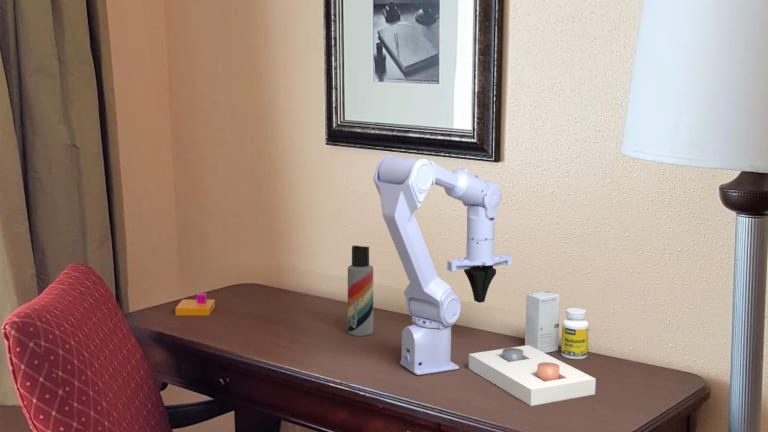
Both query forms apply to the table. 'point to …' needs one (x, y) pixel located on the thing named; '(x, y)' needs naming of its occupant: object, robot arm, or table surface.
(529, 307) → the skincare box
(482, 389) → the table surface
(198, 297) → the yellow slab with magenta
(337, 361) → the table surface
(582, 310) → the supplement bottle
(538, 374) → the button near
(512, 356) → the button far
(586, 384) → the white board with holes
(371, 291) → the lotion bottle
